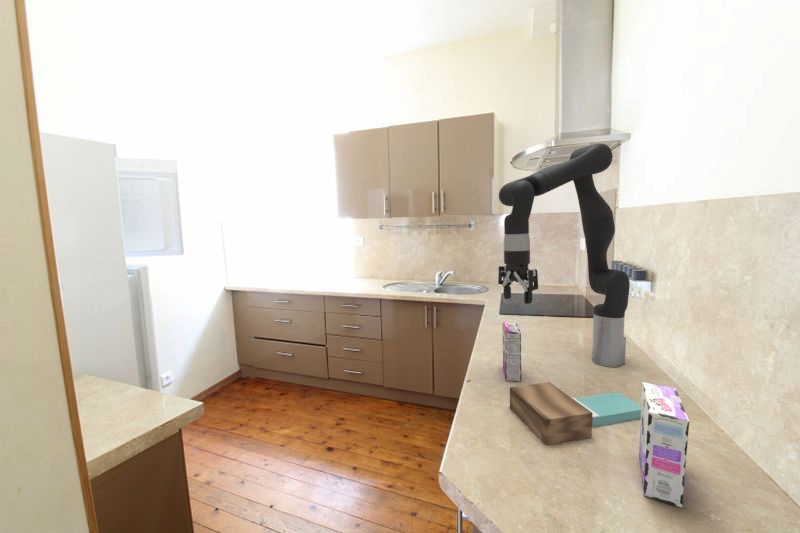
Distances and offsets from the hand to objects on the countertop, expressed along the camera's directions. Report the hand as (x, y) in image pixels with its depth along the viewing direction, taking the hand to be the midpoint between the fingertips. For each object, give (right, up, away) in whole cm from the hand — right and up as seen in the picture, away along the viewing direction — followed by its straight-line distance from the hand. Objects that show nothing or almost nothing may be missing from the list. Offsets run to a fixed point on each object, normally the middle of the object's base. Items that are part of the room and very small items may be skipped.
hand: (517, 300), depth 104 cm
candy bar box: (+1, -26, +8) cm, 27 cm away
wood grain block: (+2, -29, -19) cm, 34 cm away
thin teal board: (+18, -28, -16) cm, 37 cm away
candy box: (+14, -31, -39) cm, 51 cm away
